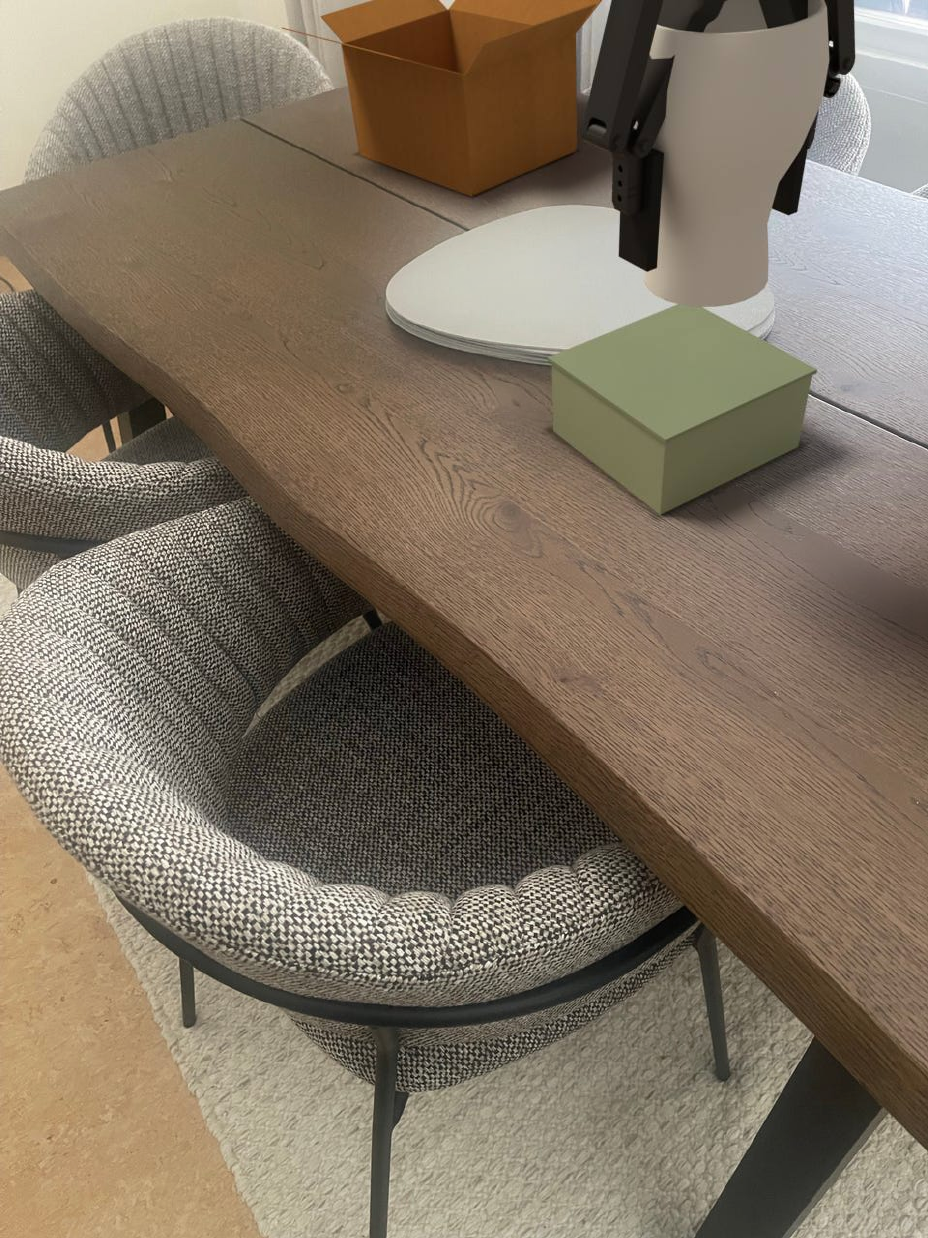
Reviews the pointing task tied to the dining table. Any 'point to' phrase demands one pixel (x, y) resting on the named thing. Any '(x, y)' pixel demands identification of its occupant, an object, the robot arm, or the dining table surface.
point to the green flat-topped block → (678, 403)
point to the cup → (731, 146)
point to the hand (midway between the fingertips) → (709, 233)
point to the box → (462, 85)
